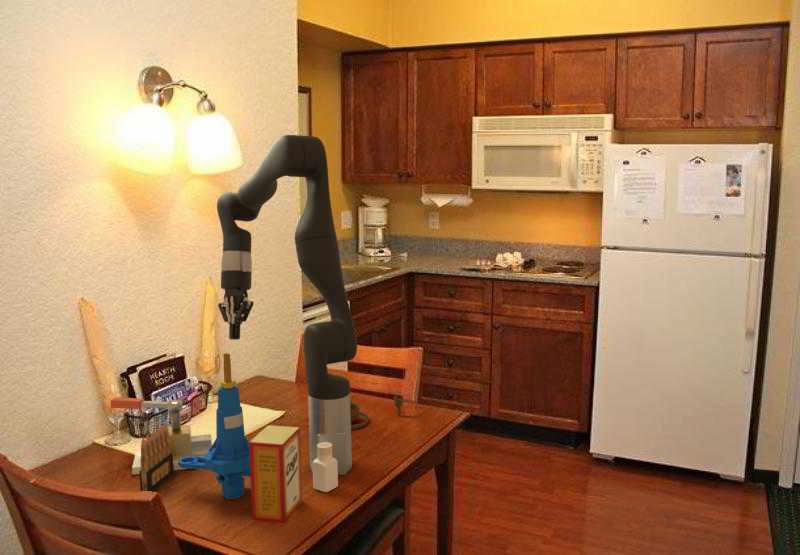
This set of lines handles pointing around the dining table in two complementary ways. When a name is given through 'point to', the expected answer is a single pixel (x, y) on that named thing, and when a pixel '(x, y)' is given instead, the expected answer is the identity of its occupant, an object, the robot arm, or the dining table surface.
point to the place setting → (355, 414)
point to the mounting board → (137, 464)
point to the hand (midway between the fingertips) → (234, 339)
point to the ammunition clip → (156, 460)
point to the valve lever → (145, 404)
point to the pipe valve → (186, 439)
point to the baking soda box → (275, 473)
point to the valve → (226, 441)
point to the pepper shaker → (325, 468)
